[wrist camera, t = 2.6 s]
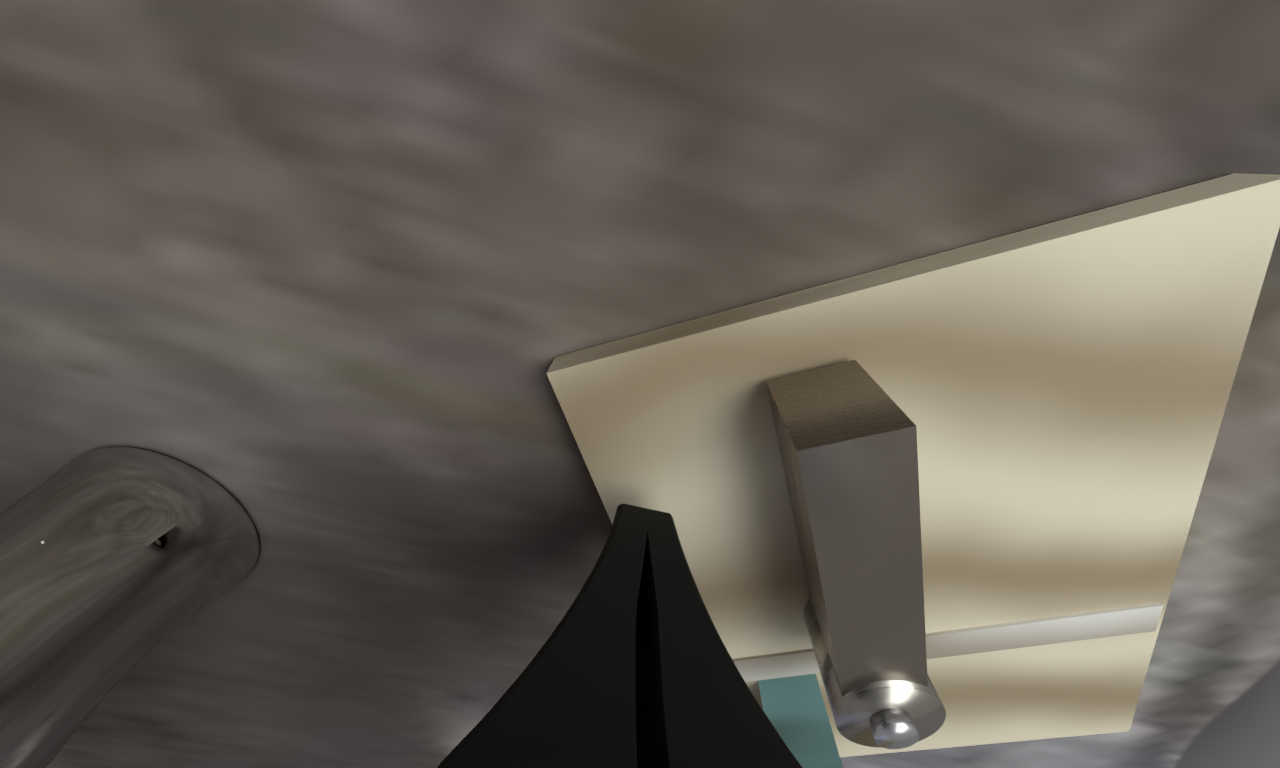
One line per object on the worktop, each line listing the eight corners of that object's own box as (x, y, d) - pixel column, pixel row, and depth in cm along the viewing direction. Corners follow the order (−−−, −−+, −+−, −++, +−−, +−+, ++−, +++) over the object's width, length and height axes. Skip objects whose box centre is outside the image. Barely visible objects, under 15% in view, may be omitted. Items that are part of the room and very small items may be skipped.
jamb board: (1105, 701, 17) (1213, 835, 14) (715, 740, 20) (726, 861, 16) (1235, 173, 9) (1564, 183, 6) (555, 356, 12) (510, 437, 8)
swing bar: (893, 631, 14) (955, 761, 11) (809, 643, 15) (846, 770, 12) (868, 356, 10) (955, 442, 7) (752, 383, 11) (787, 475, 8)
